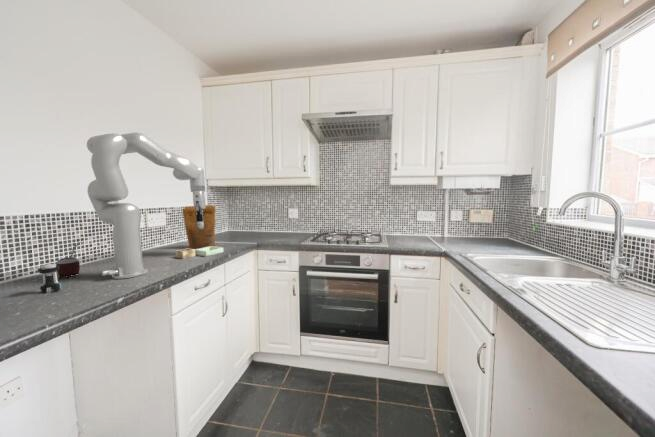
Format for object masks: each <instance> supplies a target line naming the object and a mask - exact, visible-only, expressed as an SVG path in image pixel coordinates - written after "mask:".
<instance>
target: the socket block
mask: <svg viewBox="0 0 655 437" xmlns="http://www.w3.org/2000/svg"><path fill="white" fill-rule="evenodd" d="M194 257H196V255H195V249H190V248H189V247H187V248H183V249H178V250H175V258H177V259H181V260H184V259H185V260H187V259H189V258H194Z"/></svg>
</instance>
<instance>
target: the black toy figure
mask: <svg viewBox="0 0 655 437" xmlns="http://www.w3.org/2000/svg"><path fill="white" fill-rule="evenodd" d="M56 265H57V263H47V264H42V265H41V267H39V268H37V271H38V273H39V274H40V275H42V281H43V283H42V285H41V286H40V287H39V288H36V289H35V290H36V293H41V294H47V293H48V294H49V293H56V292H57V293H58V292H60V291H61V290H62V285H61V282H59V281H58V272H57V271H58V270H59V266H56Z"/></svg>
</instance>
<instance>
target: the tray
mask: <svg viewBox="0 0 655 437" xmlns="http://www.w3.org/2000/svg"><path fill="white" fill-rule="evenodd" d="M224 251H225V250H224V247H223V246H222V247H221V246H209V247H204V248H199V249H195V256H198V257H199V256H200V257H205V258H207V257H211V256H215V255H219V254H223V253H225V252H224Z"/></svg>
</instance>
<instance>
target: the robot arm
mask: <svg viewBox="0 0 655 437" xmlns="http://www.w3.org/2000/svg"><path fill="white" fill-rule="evenodd" d="M86 147H87V150H88V151H89V152H90V153H91V154H92V155H91V159H90V161H91V162H90V164H91V169H92V172H93V175H94V178H95V179H94V180H92V181H91V182H89V183H88V186H87V195H88V198H89V200H90V203H91V204H92V206H93V207H92V208H93V209H94V212H95V213H96V216H97V217H98V218H99V220H100V221H101V222H103V223H105V224H107V225H113V229H112V243H113V252H114V254H113V255H114V263H115V265H114V266H112V268H111V269H108V270H107V269H106V270H104V271H103V270H102V271H101V276H102V277H103V276H104V277H105V276H111V278H112V279H114V280H117V279H118V280H120V279H121V280H122V279H131V278H136V277H140V276H142V275H145V274H147V273H148V271H149V270H148V268H145V267H144V259H143V249H142V239H141V221H142V213H141V210H140V208H139V207H138V206H137V205H136V204H133V203H130V202H119V201H123V200H125V199H126V198H127V197H128V196H129V189H128V184H126V181H125V179H124V178H125V177H124V175H123V174H122V170H121V167H120V159H121V157H122V155H126V154H134V153H137V154H139V155H140V156H142V157H144V158H145V159H147V160H149V161H150V162H152V163H153V164H155V165H156V166H160V167H165V168H170V169H173V171H172V174H173V175H172V176H173V177H174V178H175V179H177V180H179V181H188V180H189V186H190V188H189V189H190V193H192V200H193V201H192V202H193V203H192V204H193V207H194V209H196V219H197V222H202V221H204V214H203V215H202V212H203V209H205V208H206V206H207V205H206V198H205V192H206V181H205V170H204V168H203V167H198V166H197V165H196V164H195V163H194V162H192V161H191V160H189V159H187V158H186V157H183V156H182V155H179V154H176V153H174V152H172V151H169V150H167V149H165V148H164V147H163V146H161V145H160V144H158V143H157V142H155V141H154V140H153V139H151V138H150V137H149V136H147V135H145V134H143V133H141V132H130V133H129V132H128V133H123V134H118V133H114V132H113V133H105V134H99V135H94V136H91V137H89V139H88V140H87V141H86ZM199 208H200V209H199Z"/></svg>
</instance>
